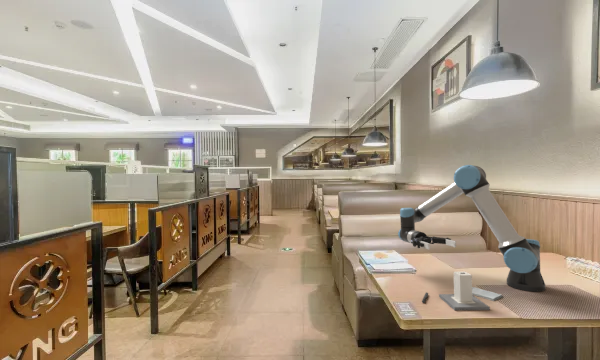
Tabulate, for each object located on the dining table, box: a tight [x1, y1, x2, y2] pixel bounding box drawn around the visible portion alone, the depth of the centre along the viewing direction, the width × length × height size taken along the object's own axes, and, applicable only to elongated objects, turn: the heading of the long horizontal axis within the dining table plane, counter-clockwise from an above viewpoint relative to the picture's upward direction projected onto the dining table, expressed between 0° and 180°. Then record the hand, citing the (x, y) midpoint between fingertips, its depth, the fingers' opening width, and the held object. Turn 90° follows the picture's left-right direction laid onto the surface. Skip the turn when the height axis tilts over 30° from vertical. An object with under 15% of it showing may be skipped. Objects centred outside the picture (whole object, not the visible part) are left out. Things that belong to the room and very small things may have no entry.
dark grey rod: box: [421, 292, 429, 304], centre depth 132 cm, size 11×1×1 cm, turn 149°
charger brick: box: [453, 271, 473, 302], centre depth 127 cm, size 5×5×11 cm
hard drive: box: [472, 286, 504, 302], centre depth 136 cm, size 2×8×12 cm
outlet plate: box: [438, 293, 491, 311], centre depth 127 cm, size 14×14×2 cm
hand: (442, 245), depth 140 cm, fingers open, 13 cm apart
